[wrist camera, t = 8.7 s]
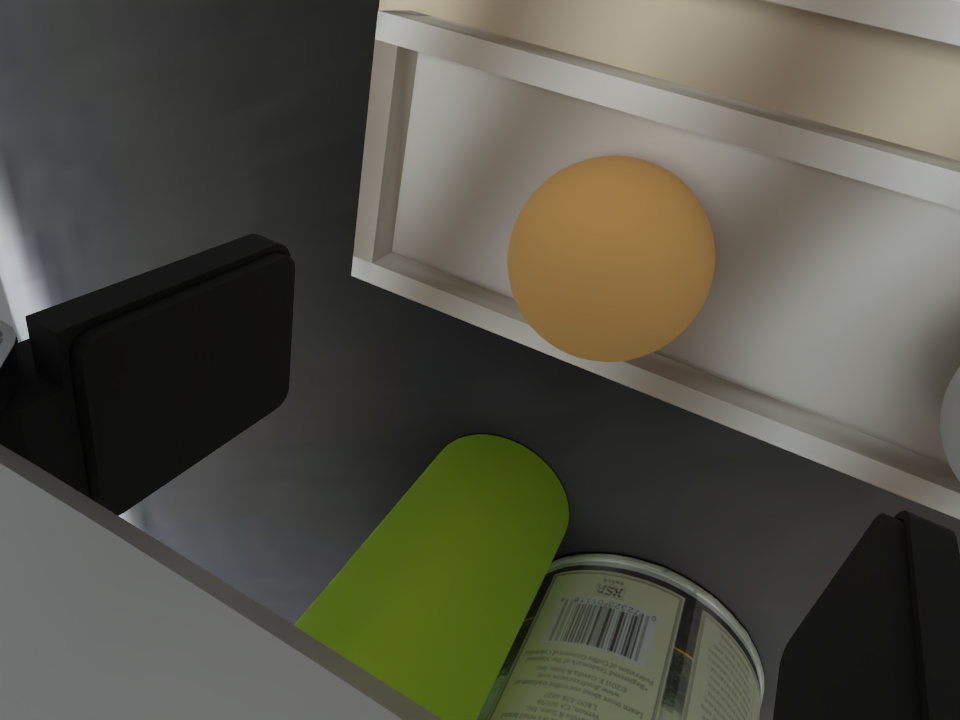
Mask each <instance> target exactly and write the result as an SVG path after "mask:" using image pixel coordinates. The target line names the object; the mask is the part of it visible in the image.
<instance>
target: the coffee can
mask: <svg viewBox="0 0 960 720" xmlns="http://www.w3.org/2000/svg"><path fill="white" fill-rule="evenodd" d="M763 695H764V672H763V668H762V664H761V661H760V658H759V655H758V652H757V650H756V648H755V646H754V645H753V643H752V641H751V639H750V637H749V635H748V633H747V631H746V630H745V629H744V628H743V627H742V626H741V625H740V623H739V622H738V621H737V620H736V619H735V618H734V616H733V615H732V614H731V613H730V611H728V610H727V609H726V608H725V607H724V606H723V605H722V604H721V603H720V602H719V601H718V600H717V599H716V598H714V597H713V596H712V595H711V594H709V593H708V592H706V591H705V590H703V589H702V588H701V587H699V586H698V585H696V584H695V583H693V582H691V581H690V580H688V579H686V578H685V577H683V576H681V575H679V574H677V573H675V572H673V571H671V570H669V569H667V568H665V567H663V566H658V565H655V564H652V563H649V562H645V561H642V560H639V559H635V558H631V557H626V556H620V555H613V554H580V555H574V556H568V557H563V558H560V559H558V560H555V561H553V562H551V565H550V567H549V569H548V571H547V573H546V575H545V577H544V579H543V581H542V583H541V586H540V588H539V590H538V592H537V594H536V596H535V598H534V600H533V602H532V604H531V607H530V609H529V611H528V613H527V615H526V617H525V619H524V621H523V623H522V625H521V628H520V630H519V632H518V634H517V636H516V638H515V640H514V642H513V644H512V646H511V649H510V651H509V653H508V655H507V657H506V659H505V661H504V663H503V665H502V667H501V670H500V672H499V674H498V676H497V678H496V680H495V682H494V684H493V686H492V688H491V691H490V693H489V695H488V697H487V699H486V701H485V703H484V705H483V707H482V709H481V712H480V714H479V716H478V718H477V720H759V715H760V709H761V705H762V700H763Z"/></svg>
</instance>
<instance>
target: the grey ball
mask: <svg viewBox="0 0 960 720" xmlns="http://www.w3.org/2000/svg"><path fill="white" fill-rule="evenodd" d="M940 430H941V438H942V444H943V448H944V451H945V454H946V457H947V460H948V462H949V464H950V467H951V469H952V470H953V472H954V474H955V476H956V478H957V479H958V480H959V482H960V367H959V368H958V370H957V371H956V373H955V374H954V376H953V378H952V380H951V381H950V383H949V385H948V388H947V390H946V393H945V395H944V400H943V404H942V409H941V414H940Z"/></svg>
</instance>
